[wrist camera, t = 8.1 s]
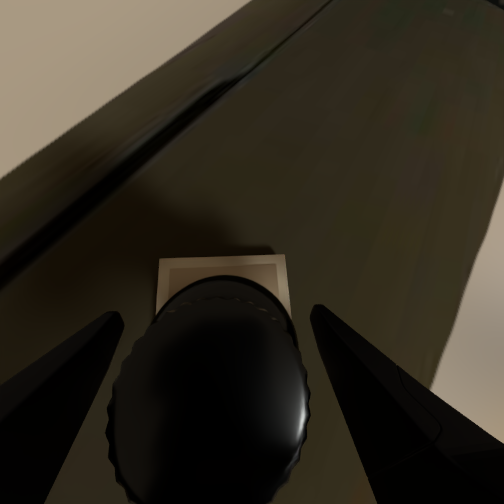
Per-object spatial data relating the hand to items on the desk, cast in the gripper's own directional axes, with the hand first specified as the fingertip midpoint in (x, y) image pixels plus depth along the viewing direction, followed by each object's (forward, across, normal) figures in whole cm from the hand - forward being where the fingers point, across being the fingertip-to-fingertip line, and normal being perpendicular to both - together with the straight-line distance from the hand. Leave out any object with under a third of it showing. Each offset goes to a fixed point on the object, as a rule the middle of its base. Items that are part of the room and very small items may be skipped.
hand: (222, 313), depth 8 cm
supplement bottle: (+5, 0, +7) cm, 8 cm away
